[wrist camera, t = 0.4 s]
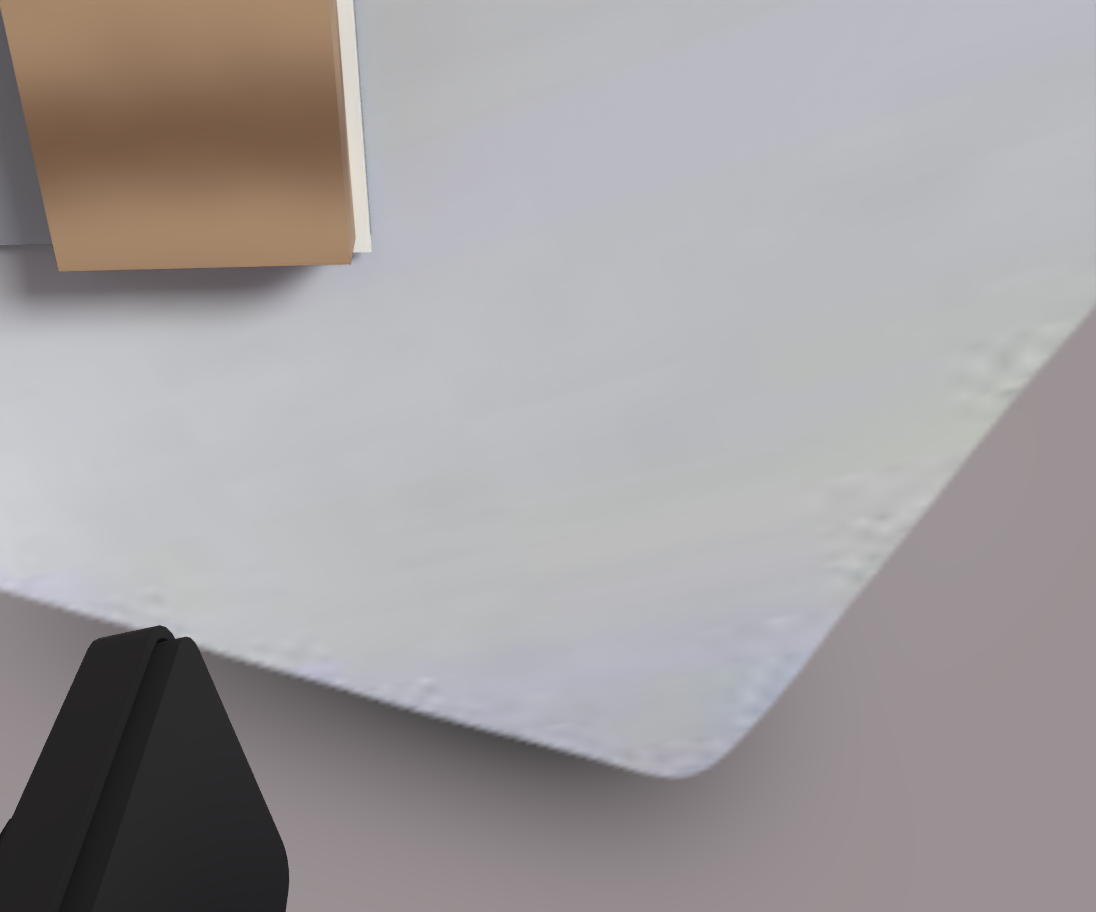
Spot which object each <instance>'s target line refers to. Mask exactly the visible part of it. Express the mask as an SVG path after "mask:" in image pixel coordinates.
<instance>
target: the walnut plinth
mask: <svg viewBox="0 0 1096 912" xmlns="http://www.w3.org/2000/svg"><path fill="white" fill-rule="evenodd" d="M0 8H1V12H2V17H3V21H4V26H5V30H6V35H7V40H8V44H9V49H10V53H11V58H12V62H13V67H14V71H15V76H16V80H17V85H18V89H19V94H20V98H21V103H22V108H23V112H24V117H25V121H26V126H27V130H28V135H29V139H30V144H31V148H32V153H33V157H34V162H35V167H36V171H37V176H38V180H39V185H40V189H41V194H42V198H43V203H44V207H45V212H46V216H47V221H48V226H49V230H50V235H51V239H52V244H53V248H54V253H55V257H56V262H57V266H58V271H98V270H139V269H179V268H220V267H260V266H301V265H341V264H351V260H352V255H353V250H354V244H355V239H356V236H355V223H354V211H353V198H352V186H351V173H350V161H349V148H348V136H347V123H346V111H345V98H344V86H343V73H342V61H341V48H340V36H339V23H338V11H337V0H0Z"/></svg>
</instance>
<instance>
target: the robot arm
mask: <svg viewBox="0 0 1096 912" xmlns="http://www.w3.org/2000/svg"><path fill="white" fill-rule="evenodd" d="M288 889H289V868H288V860H287V855H286V851H285V848H284V845H283V842H282V840H281V837H280V835H279V833H278V830H277V828H276V826H275V823H274V821H273V819H272V816H271V814H270V812H269V810H268V807H267V805H266V803H265V800H264V798H263V796H262V794H261V791H260V789H259V787H258V784H257V782H256V780H255V777H254V775H253V773H252V770H251V768H250V766H249V764H248V762H247V759H246V757H245V754H244V752H243V750H242V747H241V745H240V743H239V741H238V738H237V736H236V734H235V731H234V729H233V727H232V724H231V722H230V720H229V718H228V715H227V713H226V711H225V709H224V706H223V704H222V701H221V699H220V697H219V695H218V692H217V690H216V688H215V686H214V683H213V681H212V679H211V676H210V674H209V672H208V669H207V667H206V665H205V662H204V660H203V658H202V655H201V653H200V651H199V649H198V647H197V645H196V643H195V642H194V641H193V640H192V639H191V638H189V637H182V638H178V639H175V638H174V636H173V634H172V633H171V632H170V631H169V630H168V629H167V628H166V627H164V626H160V625H159V626H154V627H150V628H145V629H140V630H136V631H131V632H126V633H121V634H117V635H112V636H108V637H103V638H99V639H97V640H95V641H93V642H92V644H91V645H90V647H89V648H88V650H87V652H86V654H85V656H84V659H83V661H82V663H81V665H80V668H79V670H78V672H77V674H76V676H75V679H74V681H73V683H72V685H71V688H70V690H69V692H68V694H67V696H66V699H65V701H64V703H63V705H62V707H61V710H60V712H59V714H58V716H57V719H56V721H55V723H54V725H53V728H52V730H51V732H50V734H49V736H48V739H47V741H46V743H45V745H44V747H43V750H42V752H41V754H40V756H39V759H38V761H37V763H36V765H35V767H34V770H33V772H32V774H31V777H30V779H29V781H28V783H27V785H26V787H25V790H24V792H23V794H22V797H21V799H20V801H19V803H18V805H17V807H16V810H15V812H14V814H13V816H12V818H11V819H10V820H9V821H8V822H7V824H6V826H5V827H4V829H3V830H2V832H1V834H0V912H286V904H287V897H288Z"/></svg>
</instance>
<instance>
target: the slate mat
mask: <svg viewBox="0 0 1096 912" xmlns="http://www.w3.org/2000/svg"><path fill="white" fill-rule="evenodd" d="M337 11H338V23H339V36H340V48H341V61H342V73H343V86H344V98H345V111H346V123H347V136H348V148H349V161H350V173H351V186H352V198H353V211H354V223H355V236H356V239H355V244H354V250H353V252H371V239H370V236H371V224H370V210H369V197H368V183H367V169H366V155H365V142H364V128H363V114H362V100H361V86H360V73H359V59H358V45H357V31H356V18H355V4H354V0H337ZM35 244H52V239H51V235H50V230H49V226H48V221H47V216H46V212H45V207H44V203H43V198H42V194H41V189H40V185H39V180H38V176H37V171H36V167H35V162H34V157H33V153H32V148H31V144H30V139H29V135H28V130H27V126H26V121H25V117H24V112H23V108H22V103H21V98H20V94H19V89H18V85H17V80H16V76H15V71H14V67H13V62H12V58H11V53H10V49H9V44H8V40H7V35H6V30H5V26H4V21H3V17H2V12H1V8H0V245H35Z"/></svg>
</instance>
